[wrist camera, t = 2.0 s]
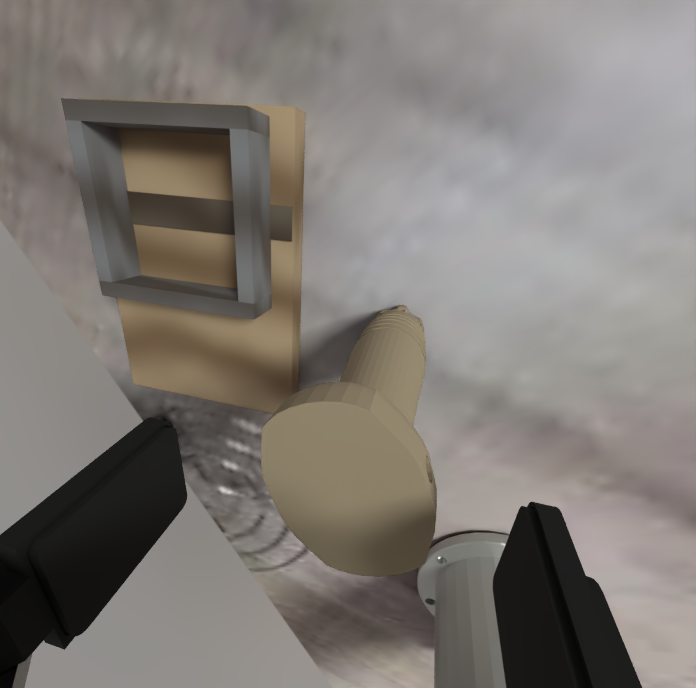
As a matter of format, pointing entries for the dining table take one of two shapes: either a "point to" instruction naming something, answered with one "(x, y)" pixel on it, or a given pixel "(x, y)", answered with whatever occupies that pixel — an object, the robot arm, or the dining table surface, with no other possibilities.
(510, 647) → the robot arm
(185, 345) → the subfloor panel
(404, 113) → the dining table surface
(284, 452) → the handle
